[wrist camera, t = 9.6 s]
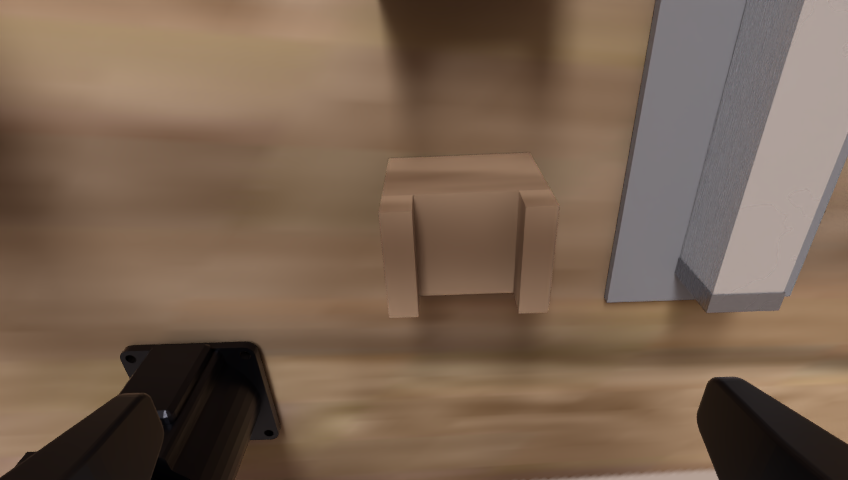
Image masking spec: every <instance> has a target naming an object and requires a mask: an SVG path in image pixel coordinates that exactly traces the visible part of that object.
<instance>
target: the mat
mask: <svg viewBox="0 0 848 480" xmlns="http://www.w3.org/2000/svg"><path fill="white" fill-rule="evenodd" d="M746 3H747V0H656V2H655V8H654V14H653V19H652V25H651V31H650V37H649V42H648V48H647V54H646V60H645V65H644V71H643V77H642V83H641V88H640V94H639V100H638V106H637V111H636V117H635V123H634V129H633V134H632V140H631V146H630V151H629V157H628V163H627V169H626V174H625V180H624V186H623V192H622V197H621V203H620V209H619V215H618V220H617V226H616V232H615V238H614V243H613V249H612V255H611V261H610V266H609V272H608V278H607V284H606V289H605V295H604V298H605V300H606V301H607V302H636V301H666V300H695V298H694V297H693V296H692V294H691V293H690V292H689V291H688V289H687V288H686V287H685V286H684V285H683V283H682V282H681V281H680V280H679V278H678V277H677V276H676V275H675V269H676V265H677V261H678V257H681V253H682V249H683V245H684V242H685V238H686V234H687V230H688V226H689V222H690V218H691V215H692V211H693V207H694V203H695V199H696V195H697V192H698V188H699V184H700V180H701V176H702V172H703V168H704V165H705V161H706V157H707V153H708V149H709V145H710V141H711V138H712V134H713V130H714V126H715V122H716V118H717V115H718V111H719V107H720V103H721V99H722V95H723V91H724V88H725V84H726V80H727V76H728V72H729V68H730V65H731V61H732V57H733V53H734V49H735V45H736V41H737V38H738V34H739V30H740V26H741V22H742V18H743V14H744V11H745V7H746ZM847 156H848V133H847V136H846V138H845V141H844V143H843V146H842V148H841V151H840V153H839V156H838V158H837V161H836V163H835V166H834V168H833V171H832V173H831V176H830V178H829V180H828V183H827V185H826V188H825V190H824V193H823V195H822V198H821V200H820V203H819V205H818V208H817V210H816V213H815V215H814V218H813V220H812V223H811V225H810V228H809V230H808V233H807V235H806V238H805V240H804V243H803V245H802V248H801V250H800V253H799V255H798V258H797V260H796V263H795V265H794V268H793V270H792V272H791V275H790V277H789V280H788V282H787V285H786V287H785V290H784V292H785V293H786V294H785V296H790V295H791V292H792V290H793V287H794V285H795V283H796V280H797V278H798V275H799V273H800V270H801V268H802V266H803V263H804V261H805V258H806V256H807V253H808V251H809V249H810V246H811V244H812V241H813V239H814V236H815V234H816V231H817V229H818V227H819V224H820V222H821V219H822V217H823V214H824V212H825V210H826V207H827V205H828V202H829V200H830V197H831V195H832V193H833V190H834V188H835V185H836V183H837V180H838V178H839V176H840V173H841V171H842V168H843V166H844V163H845V161H846V158H847Z"/></svg>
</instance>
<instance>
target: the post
mask: <svg viewBox="0 0 848 480" xmlns="http://www.w3.org/2000/svg"><path fill="white" fill-rule="evenodd" d="M559 207H560V205H559V204H558V202H557V200H556V198H555V197H554V195H553V193H552V191H551V189H550V188H549V186H548V184H547V182H546V181H545V179H544V177H543V175H542V173H541V172H540V170H539V168H538V166H537V165H536V163H535V161H534V159H533V157H532V156H531V154H530V152H529V153H506V154H482V155H458V156H435V157H411V158H389V160H388V166H387V171H386V176H385V181H384V186H383V192H382V197H381V202H380V207H379V212H378V213H379V223H380V233H381V243H382V252H383V262H384V272H385V281H386V291H387V301H388V310H389V318H401V317H419V296H430V295H459V294H487V293H513V294H514V298H515V301H516V305H517V309H518V313H548V312H549V302H550V293H551V283H552V274H553V264H554V255H555V245H556V236H557V226H558V217H559Z"/></svg>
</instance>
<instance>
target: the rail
mask: <svg viewBox="0 0 848 480" xmlns="http://www.w3.org/2000/svg"><path fill="white" fill-rule="evenodd" d="M847 133H848V0H747V3H746V7H745V11H744V14H743V18H742V22H741V26H740V30H739V34H738V38H737V41H736V45H735V49H734V53H733V57H732V61H731V65H730V68H729V72H728V76H727V80H726V84H725V88H724V91H723V95H722V99H721V103H720V107H719V111H718V115H717V118H716V122H715V126H714V130H713V134H712V138H711V141H710V145H709V149H708V153H707V157H706V161H705V165H704V168H703V172H702V176H701V180H700V184H699V188H698V192H697V195H696V199H695V203H694V207H693V211H692V215H691V218H690V222H689V226H688V230H687V234H686V238H685V242H684V245H683V249H682V253H681V257H678V261H677V265H676V269H675V275H676V276H677V277H678V278H679V280H680V281H681V282H682V283H683V285H684V286H685V287H686V288H687V289H688V291H689V292H690V293H691V294H692V296H693V297H694V298H695V299H696V301H697V302H698V303H699V304H700V305H701V307H702V308H703V309H704V310H705V312H706V313H716V312H746V311H777V310H779V309H780V306H781V304H782V301H783V299H784V296H785V294H786V293H785V292H784V290H785V287H786V285H787V282H788V280H789V277H790V275H791V272H792V270H793V268H794V265H795V263H796V260H797V258H798V255H799V253H800V250H801V248H802V245H803V243H804V240H805V238H806V235H807V233H808V230H809V228H810V225H811V223H812V220H813V218H814V215H815V213H816V210H817V208H818V205H819V203H820V200H821V198H822V195H823V193H824V190H825V188H826V185H827V183H828V180H829V178H830V176H831V173H832V171H833V168H834V166H835V163H836V161H837V158H838V156H839V153H840V151H841V148H842V146H843V143H844V141H845V138H846V136H847Z"/></svg>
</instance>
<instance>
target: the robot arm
mask: <svg viewBox="0 0 848 480" xmlns="http://www.w3.org/2000/svg"><path fill="white" fill-rule="evenodd" d="M244 351H245V352H248V353H249V354H248V353H245V352H244ZM120 359H121V361H122V364H123V366H124V368H125V370H126V372H127V374H128V376H129V378H130V379H129V381H128V382H127V384H126V385H125V386H124V388H123V389H122V390H121V392H120V393H119V395H118V396H116V397H114V398H113V399H111V400H110V401H108V402H107V403H106V404H104V405H103V406H101V407H100V408H98V409H97V410H96V411H94V412H93V413H91V414H90V415H89V416H87V417H86V418H84V419H83V420H81V421H80V422H79V423H77V424H76V425H74V426H73V427H71V428H70V429H69V430H67V431H66V432H64V433H63V434H62V435H60V436H59V437H57V438H56V439H54V440H53V441H52V442H50V443H49V444H47V445H46V446H44V447H43V448H42V449H40V450H39V451H37V452H27V453H26V454H25V455H24V456H23V458H22V459H21V460H20V461H19V462H18V464H17V465H16V466H15V467H14V468H13V469H12V470H10V471H9V472H7V473H6V474H5V475H3V476H2V477H0V480H235V477H236V474H237V472H238V469H239V466H240V464H241V461H242V458H243V456H244V453H245V450H246V448H247V445H248V442H249V440H266V439H275V438H277V436H278V435H279V431H280V424H279V420H278V417H277V413H276V410H275V407H274V403H273V400H272V396H271V393H270V389H269V386H268V382H267V379H266V375H265V372H264V368H263V365H262V361H261V358H260V354H259V351H258V348H257V346H255V345H254V344H253V343H250V342H222V343H191V344H161V345H132V346H128V347H126V348H125V349H124V351H123V352H122V353H121V355H120ZM697 424H698V428H699V431H700V433H701V436H702V438H703V441H704V443H705V446H706V448H707V451H708V453H709V456H710V458H711V461H712V463H713V466H714V469H715V471H716V474H717V476H718V478H719V480H848V444H847V443H845V442H843V441H842V440H840V439H839V438H837V437H835V436H834V435H832V434H830V433H829V432H827V431H826V430H824V429H822V428H821V427H819V426H818V425H816V424H814V423H813V422H811V421H809V420H808V419H806V418H805V417H803V416H801V415H800V414H798V413H797V412H795V411H793V410H792V409H790V408H789V407H787V406H785V405H784V404H782V403H780V402H779V401H777V400H776V399H774V398H772V397H771V396H769V395H768V394H766V393H764V392H763V391H761V390H759V389H758V388H756V387H755V386H753V385H751V384H750V383H748V382H747V381H745V380H743V379H741V378H738V377H715V378H712V379H711V380H710V381H708V383H707V386H706V389H705V391H704V394H703V397H702V400H701V403H700V406H699V408H698V411H697Z"/></svg>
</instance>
